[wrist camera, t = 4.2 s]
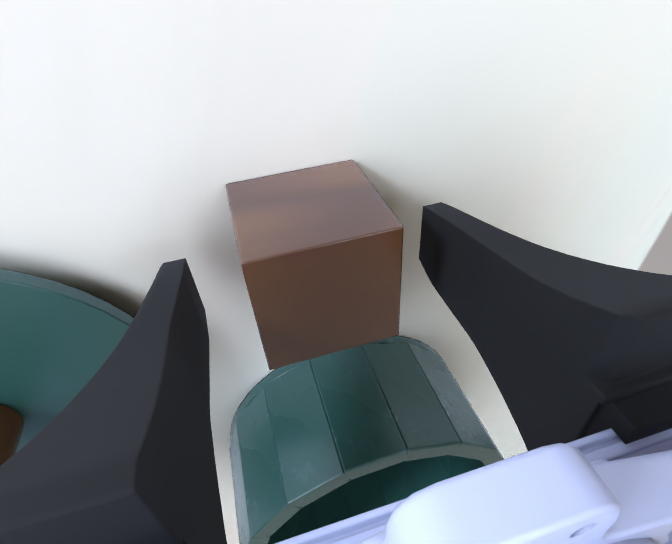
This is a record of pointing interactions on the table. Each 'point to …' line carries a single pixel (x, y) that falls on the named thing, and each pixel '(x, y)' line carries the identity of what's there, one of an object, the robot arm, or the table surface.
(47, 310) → the lid
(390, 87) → the table surface
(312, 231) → the block
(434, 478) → the tin
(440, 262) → the robot arm
